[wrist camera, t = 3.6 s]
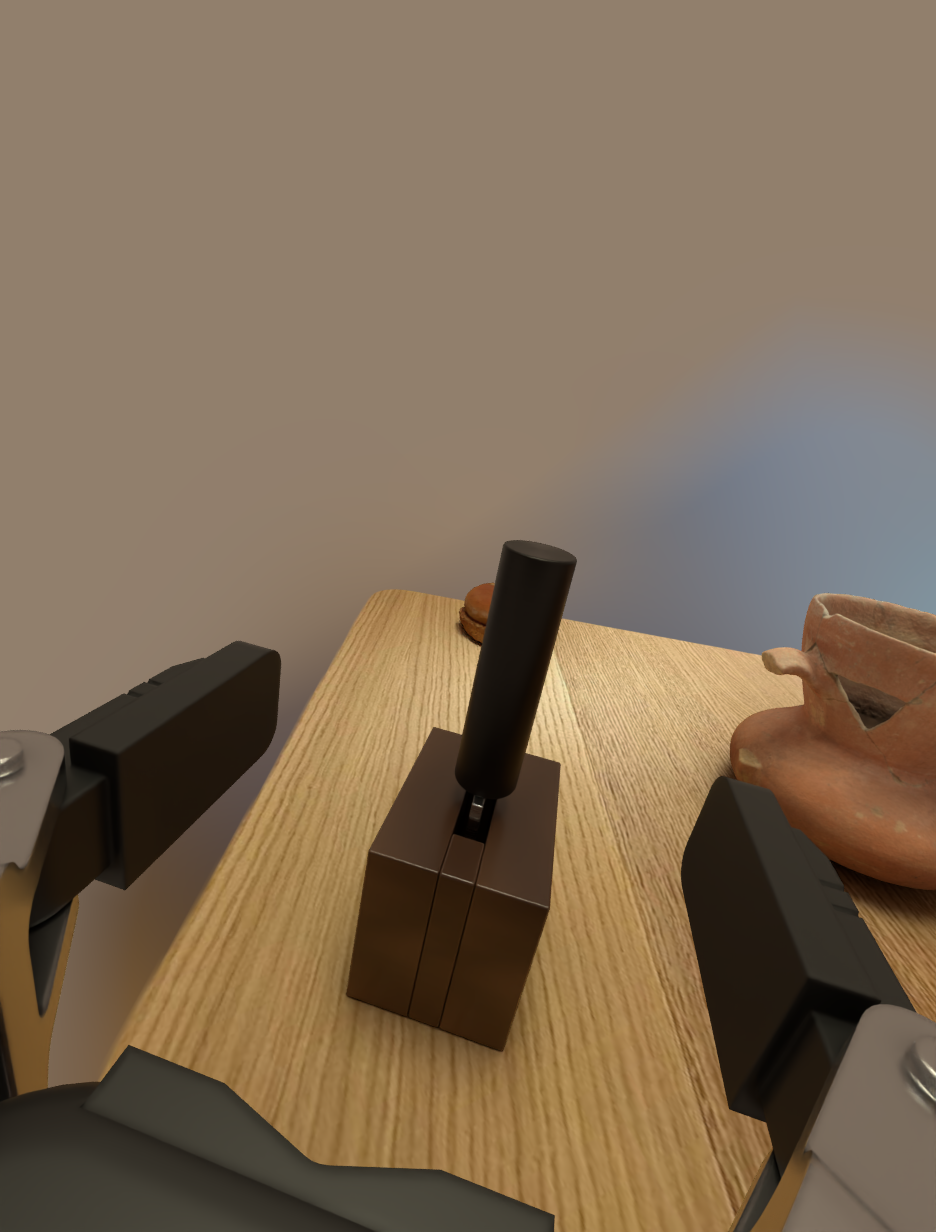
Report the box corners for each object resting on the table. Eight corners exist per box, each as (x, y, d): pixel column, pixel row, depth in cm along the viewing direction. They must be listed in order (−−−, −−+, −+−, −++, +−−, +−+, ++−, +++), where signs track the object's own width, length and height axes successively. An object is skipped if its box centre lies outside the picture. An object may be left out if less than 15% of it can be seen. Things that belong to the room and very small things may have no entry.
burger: (498, 659, 50) (509, 613, 48) (439, 620, 56) (447, 579, 54) (565, 646, 56) (577, 605, 54) (506, 613, 62) (514, 575, 61)
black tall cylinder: (411, 953, 22) (496, 551, 16) (432, 891, 25) (510, 533, 19) (468, 972, 21) (576, 570, 15) (482, 907, 24) (578, 549, 18)
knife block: (345, 996, 20) (368, 850, 17) (411, 842, 27) (433, 726, 25) (502, 1052, 19) (550, 909, 16) (526, 878, 26) (561, 762, 24)
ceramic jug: (756, 891, 28) (878, 653, 23) (671, 738, 42) (736, 567, 37) (1078, 950, 29) (1264, 728, 24) (891, 780, 42) (985, 616, 37)
